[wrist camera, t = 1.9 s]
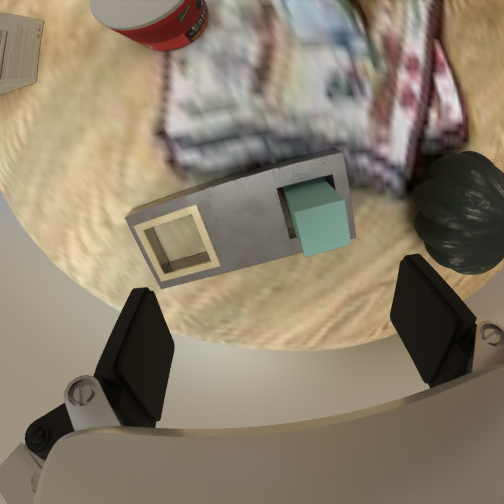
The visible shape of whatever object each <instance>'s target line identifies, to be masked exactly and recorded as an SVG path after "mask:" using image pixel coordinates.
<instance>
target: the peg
mask: <svg viewBox="0 0 504 504" xmlns="http://www.w3.org/2000/svg"><path fill="white" fill-rule="evenodd" d="M282 188H283V191H284V195H285V199H286V203H287V207H288V211H289V215H290V219H291V222H292V225H293V228H294V230H295V233H296V235H297V238H298V241H299V243H300V246H301V249H302V251H303V254H304V257H307V256H311V255H315V254H318V253H322V252H326V251H329V250H333V249H336V248H340V247H344V246H347V245H351V241H350V234H349V226H348V219H347V213H346V206H345V200H344V199H343V198H342V197H341V196H340V195H339V194H338V193H337V192H336V190H335V189H333V188H332V187H331V186H330V185H329V184H328V183H327V182H326V181H325V180H324V179H323V178H322V177H318V178H314V179H310V180H306V181H302V182H298V183H295V184H291V185H287V186H283V187H282Z"/></svg>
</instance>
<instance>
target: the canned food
mask: <svg viewBox="0 0 504 504" xmlns="http://www.w3.org/2000/svg"><path fill="white" fill-rule="evenodd" d="M90 8H91V12H92V14H93V16H94V18H95V19H97V20H98V21H99V22H100V23H101V24H102V25H104V26H106V27H108V28H110V29H112V30H114V31H116V32H118V33H120V34H122V35H124V36H126V37H128V38H130V39H132V40H134V41H136V42H138V43H140V44H142V45H144V46H146V47H148V48H151V49H154V50H172V49H177V48H180V47H183V46H185V45H187V44H189V43H190V42H192V41H193V40H195V39H196V38H197V37H198V36H199V35H200V34H201V32H202V31H203V30H204V28H205V26H206V24H207V21H208V9H207V6H206V3H205V1H204V0H90Z"/></svg>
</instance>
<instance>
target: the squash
mask: <svg viewBox="0 0 504 504" xmlns="http://www.w3.org/2000/svg"><path fill="white" fill-rule="evenodd" d="M414 198H415V202H416V204H417V207H418V209H419V210H420V212H419V213H418V215H417V216H416V219H415V229H416V231H417V233H418V236H419V237H420V238H421V239H422V240H423V241H424V244H425V248H426V250H427V252H428V253H429V255H430V256H431V257H432V258H433V259H434V260H435V261H436V262H437V263H439V264H440V265H442V266H444V267H447V268H451V269H453V270H454V271H456V272H458V273H462V274H468V275H477V274H482V273H485V272H487V271H489V270H491V269H492V268H494V267H495V266H496V265H497V264H498V263H500V262H501V261H502V260H503V258H504V173H503V172H502V171H501V170H499V169H498V168H497V167H495V165H494V164H493V163H492V162H491V161H490V160H489V159H488V158H486V157H485V156H483V155H481V154H479V153H477V152H473V151H465V152H461V153H459V154H452V155H446V156H444V157H442V158H440V159H438V160H436V161H434V162H433V163H432V164H431V165H430V167H429V170H428V181H425V182H423V183H421V184H419V185H418V186H417V187H416V189H415V191H414Z"/></svg>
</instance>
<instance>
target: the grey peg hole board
mask: <svg viewBox="0 0 504 504" xmlns="http://www.w3.org/2000/svg"><path fill="white" fill-rule="evenodd" d="M327 175H328V180H329V185H330V186H331V187H332V188H333V189H335V190H336V192H337V193H338V194H339V195H340V196H341V197H342V198H343V199H344V200H345V206H346V213H347V219H348V226H349V234H350V239H353V238H356V233H355V225H354V217H353V210H352V203H351V196H350V190H349V184H348V178H347V172H346V167H345V162H344V156H343V152H341V151H339V150H337V149H331V150H326V151H322V152H318V153H313V154H309V155H305V156H301V157H297V158H293V159H289V160H285V161H281V162H277V163H274V164H270V165H266V166H262V167H259V168H255V169H252V170H248V171H245V172H241V173H238V174H235V175H231V176H228V177H225V178H221V179H218V180H215V181H212V182H209V183H206V184H203V185H199V186H196V187H193V188H190V189H187V190H185V191H182V192H179V193H176V194H173V195H170V196H167V197H164V198H162V199H159V200H156V201H153V202H151V203H148V204H145V205H143V206H140V207H137V208H135V209H132V210H131V211H130V213H129V214H128V215H127V216H126V217H125V219H126V221H127V223H128V225H129V227H130V230H131V232H132V234H133V236H134V238H135V240H136V242H137V244H138V246H139V248H140V250H141V252H142V254H143V256H144V258H145V260H146V262H147V264H148V266H149V267H150V269H151V271H152V273H153V275H154V277H155V279H156V281H157V282H158V284H159V286H160V288H161V289H164V288H168V287H172V286H176V285H180V284H184V283H188V282H192V281H195V280H199V279H203V278H207V277H211V276H215V275H219V274H223V273H227V272H230V271H234V270H238V269H242V268H246V267H250V266H253V265H257V264H261V263H265V262H269V261H272V260H276V259H280V258H284V257H287V256H291V255H295V254H298V253H302V252H303V251H302V249H301V246H300V243H299V241H298V238H297V235H296V233H295V230H294V228H292V229H288V230H287V226H286V222H285V219H284V215H283V211H282V207H281V203H280V200H279V196H278V192H277V189H276V188H279V187H283V186H287V185H291V184H295V183H298V182H302V181H306V180H310V179H314V178H318V177H322V176H327ZM190 214H192V216H193V218H194V221H195V223H196V226H197V228H198V231H199V233H200V236H201V238H202V241H203V243H204V245H205V248H206V250H207V252H204V253H201V254H197V255H193V256H190V257H186V258H183V259H179V260H176V261H172V262H169V261H168V259H167V257H166V255H165V253H164V250H163V248H162V246H161V244H160V242H159V240H158V238H157V236H156V233H155V231H154V229H153V227H154V226H157V225H160V224H163V223H166V222H169V221H172V220H175V219H178V218H181V217H184V216H187V215H190Z"/></svg>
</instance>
